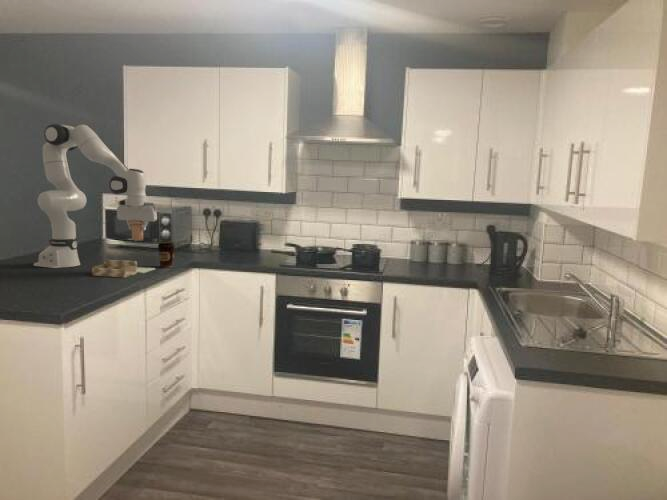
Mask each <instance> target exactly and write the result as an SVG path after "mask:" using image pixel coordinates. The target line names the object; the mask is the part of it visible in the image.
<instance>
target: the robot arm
mask: <svg viewBox="0 0 667 500" xmlns="http://www.w3.org/2000/svg"><path fill="white" fill-rule="evenodd" d="M43 136H44V139H45V141H46V142H45V143H44V144H43V145H42V162H43V167H44V173H45V177H46V180H47V181H48V182H49V183H51V184H52V185H53V186H54V187H55V188H56V189H54V190H52V189H51V190H50V189H49V190H46V191H43V192H40V194H39V195H38V197H37V205H38V207H39V208H40V210H42V212H44V213H45V214H46V215H47V217H48V219H49V221H50V226H51V232H52V233H51V234H52V236H51V237H52V238H51V239H48V240H47V242H48V243H49V246H47V247H46V248H45V249H44V250H42V251H41V252H40V253H39V255H38V261H37V262H34V263H33V266H34V267H41V268H50V269H59V268H71V267H77V266H80V265H81V262H80V258H79V254H78V239H77V229H76V225H77V224H76V223H75V221H74V220H72V219H71V218H69V216H68V213H67V212H74V211H80V210H81V209H84V208H85V206H86V205H87V201H88V200H87V196H86V195H85V193H84V192H83V191H81V190H80V189H79V188H78V186H77V185H76V184H75V182H74V181H73V179H72V177H71V172H70V168H69V165H68V164H69V163H68V159H67V151H71V152H72V151H73V150H75V149H76V148H78V149H79V151H80V152H81V153H82V155H84V156H85V158H86V159H88V160H89V161H91V162H94V163H97V164H101V165H104V166H106V167H108V168H110V169H111V170H112V171H113V173H115V175H114V176H112V177H110V179H109V183H108V187H109V188H108V189H109V190H110V191H111V193H113V194H114V195H117V196H118V195H119V196H120V195H125V196H127V197H126V198H124V199H120V200H118V201H117V205H118V206H117V208H116V209H117V210H116V217H117V220H119V221H126V224H127V226H128V230H131V231H132V224H130V221H143V223H144V224H143V226H142V227H141V228H142V229H141V230H143V231H146V230H147V226H148V224H149V222H156V221H157V220H158V213H157V204H156V203H154V202H148V201H147V193H146V187H147V183H146V181H147V179H146V175H145V172H144V171H143V170H141V169H137V168H128V167H127V166H126V164H124V163H123V162H122V160H121V159H120V158H119V157H117V155H116V154H115V153H114V152H112V150H110V148H108V146H107V145H106V144H105V143H104V142H103V141H102V139H101V138H100V137H99V136H98V134H97V133H96V132H95V131H94V130H93V129H92V128H91V127H89V126H88V125H86V124H78V125H77V126H72V125H67V124H58V123H54V124H53V123H52V124H50V125H49V124H48V126H46V128H45V129H44V132H43Z"/></svg>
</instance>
